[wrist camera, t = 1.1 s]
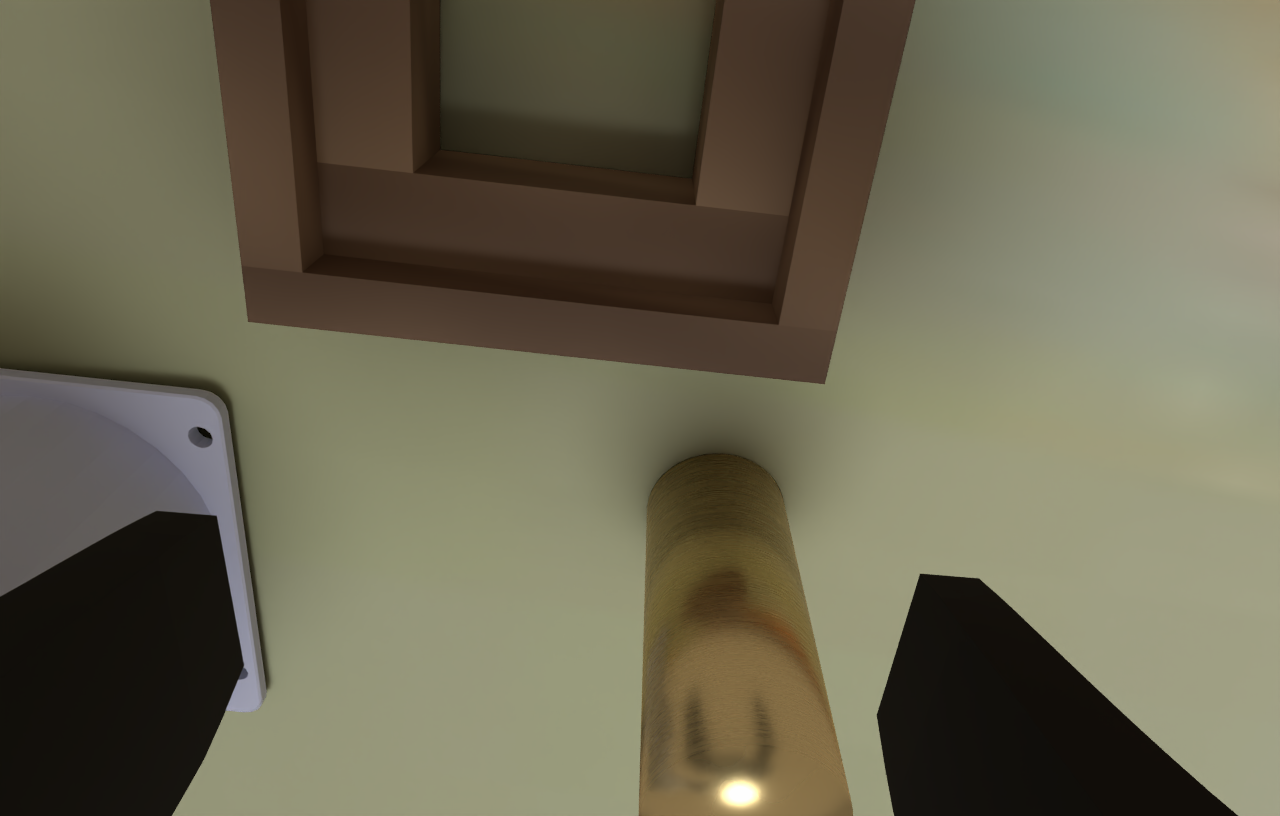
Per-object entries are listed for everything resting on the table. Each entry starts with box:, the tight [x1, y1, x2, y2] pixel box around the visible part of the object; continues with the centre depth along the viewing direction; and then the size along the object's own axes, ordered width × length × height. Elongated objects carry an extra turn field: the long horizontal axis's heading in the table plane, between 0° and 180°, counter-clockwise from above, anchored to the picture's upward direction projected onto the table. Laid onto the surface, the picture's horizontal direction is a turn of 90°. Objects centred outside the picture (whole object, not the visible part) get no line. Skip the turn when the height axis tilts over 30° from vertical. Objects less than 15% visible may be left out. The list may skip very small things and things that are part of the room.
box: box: [210, 0, 915, 384], centre depth 14 cm, size 10×10×3 cm
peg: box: [639, 454, 853, 816], centre depth 16 cm, size 3×3×8 cm
